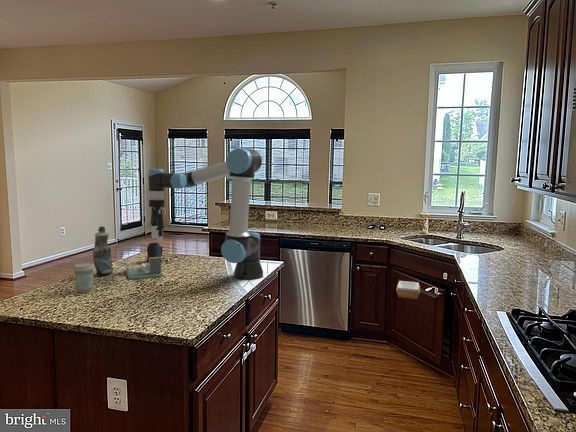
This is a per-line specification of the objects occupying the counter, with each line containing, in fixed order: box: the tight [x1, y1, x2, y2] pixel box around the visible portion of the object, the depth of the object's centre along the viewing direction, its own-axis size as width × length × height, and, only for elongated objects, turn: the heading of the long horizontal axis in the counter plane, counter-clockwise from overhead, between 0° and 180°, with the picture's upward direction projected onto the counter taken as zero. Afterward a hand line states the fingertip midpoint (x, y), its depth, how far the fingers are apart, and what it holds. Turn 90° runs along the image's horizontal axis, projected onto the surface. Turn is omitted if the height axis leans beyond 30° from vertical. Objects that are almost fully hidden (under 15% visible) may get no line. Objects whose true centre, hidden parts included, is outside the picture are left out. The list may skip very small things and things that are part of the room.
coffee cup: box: [72, 262, 96, 294], centre depth 186 cm, size 8×8×12 cm
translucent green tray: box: [124, 262, 164, 281], centre depth 218 cm, size 20×16×6 cm
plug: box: [149, 257, 162, 275], centre depth 216 cm, size 4×5×8 cm
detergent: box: [92, 225, 114, 276], centre depth 214 cm, size 13×7×25 cm, turn 164°
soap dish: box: [395, 280, 421, 300], centre depth 188 cm, size 12×10×5 cm
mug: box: [145, 242, 163, 264], centre depth 246 cm, size 12×9×11 cm
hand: (157, 240), depth 217 cm, fingers open, 13 cm apart
